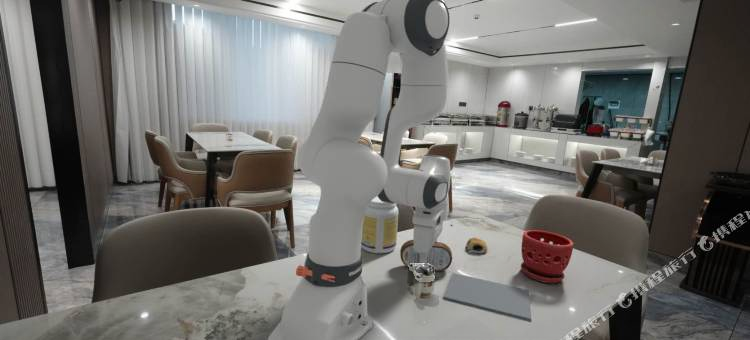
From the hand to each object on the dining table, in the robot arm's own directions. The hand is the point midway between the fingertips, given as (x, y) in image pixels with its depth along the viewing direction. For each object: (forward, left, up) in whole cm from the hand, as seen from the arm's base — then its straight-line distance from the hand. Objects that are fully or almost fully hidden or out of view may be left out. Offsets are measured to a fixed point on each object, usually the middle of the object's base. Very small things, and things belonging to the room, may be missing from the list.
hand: (427, 256), depth 100 cm
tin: (0, +1, -4) cm, 4 cm away
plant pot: (+13, -31, -4) cm, 34 cm away
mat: (-7, -17, -4) cm, 19 cm away
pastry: (+23, -12, -4) cm, 26 cm away
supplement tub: (+8, +19, -4) cm, 20 cm away
